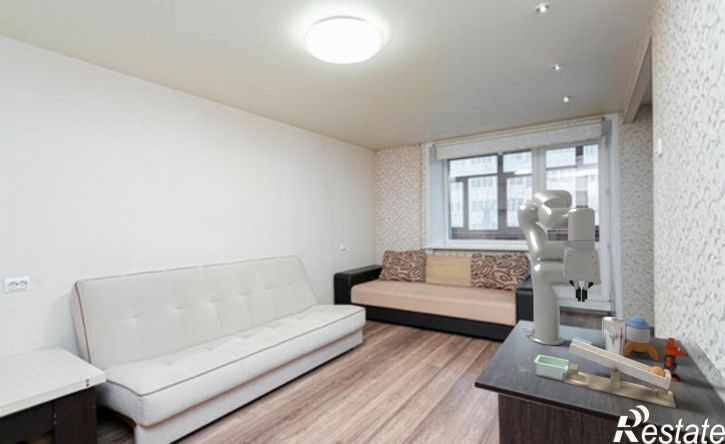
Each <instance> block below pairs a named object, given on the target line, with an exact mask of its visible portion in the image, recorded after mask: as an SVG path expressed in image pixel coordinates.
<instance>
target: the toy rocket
mask: <svg viewBox="0 0 725 444" xmlns="http://www.w3.org/2000/svg"><path fill="white" fill-rule="evenodd" d="M626 340H627V343H625V345H624V350H623V357H624V356H625V358H627V357H628V355H629V354H631V352H632V353H633V354H635V355H640V356H641V355H644V353H645V352H646V353H647V352H648V354H649V356H650V357H651V358H652V360H654V361H655V362H657V361H658V359H659V353H658V352H659V351H658V350H657V349H656V348H655V347H654V346H653V345H651V344H650V340H651V330H650V325H649V324H648V321H646V320H645V319H644V318H642V317H639V316H633V317H631V318H629V320H627V323H626ZM632 350H633V351H632Z"/></svg>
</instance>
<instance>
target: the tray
mask: <svg viewBox="0 0 725 444" xmlns="http://www.w3.org/2000/svg"><path fill="white" fill-rule="evenodd" d="M569 367H570V360H567V359H564V358H563V359H562V358H559V357H553V356H548V355H544V354H537V356H536V358H535V359H534V360H533V375H534V376H539V377H542V378H546V379H547V378H548V379H551V380H556V381H561V382H563V379H566V377H567V374H568V371H569Z"/></svg>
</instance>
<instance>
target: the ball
mask: <svg viewBox="0 0 725 444" xmlns="http://www.w3.org/2000/svg"><path fill="white" fill-rule="evenodd" d="M651 367H652V368H651V370H650V372H651V373H653V374H656V375H659V376H662V377H664V376H665V372H664V370H665V369H664V368H662V367H661V366H658V365H655V366H651Z"/></svg>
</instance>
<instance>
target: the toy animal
mask: <svg viewBox="0 0 725 444" xmlns="http://www.w3.org/2000/svg"><path fill="white" fill-rule="evenodd" d="M675 339H676V338H675V337H669V336H668V339H667V340H666V343H665V344H664V345H663V346H664V347H663V353H664V355H663V362H664V363H663V370H665V369H667V370H669V371H670V375H671V381H673V382H680V381H681V377H680V375H678V374H677V373H674V372H676V370H677V366H678V363H677V362H676V361H677V357H688V356H689V355H688V353H685V352H683V351H682V350H681V348H680V347H679V346H678V345H675V343H676V342H675Z"/></svg>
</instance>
